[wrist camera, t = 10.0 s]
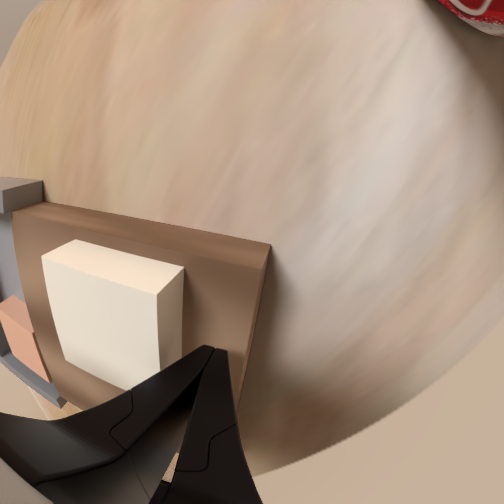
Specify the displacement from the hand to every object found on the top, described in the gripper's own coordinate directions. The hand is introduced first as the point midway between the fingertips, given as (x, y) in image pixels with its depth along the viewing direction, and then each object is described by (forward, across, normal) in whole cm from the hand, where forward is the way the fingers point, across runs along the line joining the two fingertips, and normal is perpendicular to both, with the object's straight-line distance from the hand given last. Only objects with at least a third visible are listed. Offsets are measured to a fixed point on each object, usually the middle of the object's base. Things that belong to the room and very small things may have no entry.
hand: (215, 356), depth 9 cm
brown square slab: (+4, +6, +4) cm, 8 cm away
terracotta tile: (+3, +15, +7) cm, 17 cm away
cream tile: (+1, +4, 0) cm, 4 cm away
